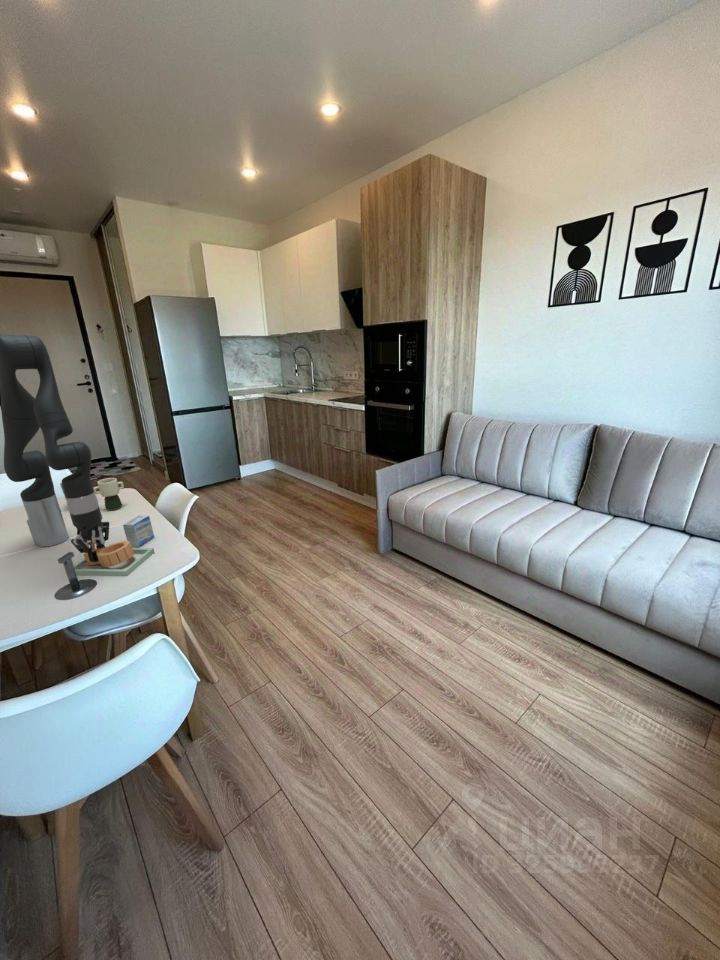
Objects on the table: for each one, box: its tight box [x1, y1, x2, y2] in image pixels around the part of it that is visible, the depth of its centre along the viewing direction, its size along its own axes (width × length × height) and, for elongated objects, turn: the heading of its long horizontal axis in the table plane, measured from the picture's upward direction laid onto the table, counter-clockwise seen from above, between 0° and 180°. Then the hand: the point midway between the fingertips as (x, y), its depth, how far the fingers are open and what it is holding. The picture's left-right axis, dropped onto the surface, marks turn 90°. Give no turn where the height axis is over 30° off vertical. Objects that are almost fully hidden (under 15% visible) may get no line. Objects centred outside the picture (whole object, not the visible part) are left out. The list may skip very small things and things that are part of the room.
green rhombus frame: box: [73, 547, 156, 577], centre depth 123 cm, size 19×14×2 cm
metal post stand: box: [54, 551, 98, 601], centre depth 108 cm, size 10×10×12 cm
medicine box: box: [122, 514, 155, 548], centre depth 137 cm, size 8×4×9 cm, turn 168°
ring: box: [82, 540, 135, 568], centre depth 122 cm, size 14×9×4 cm, turn 85°
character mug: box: [93, 477, 125, 511], centre depth 167 cm, size 11×7×13 cm, turn 128°
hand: (98, 558), depth 123 cm, fingers closed on ring, 3 cm apart
